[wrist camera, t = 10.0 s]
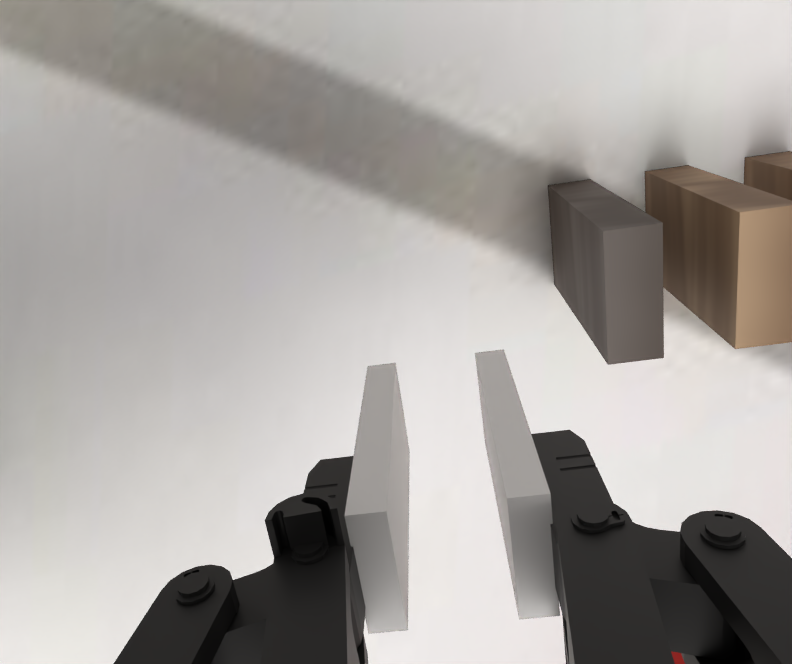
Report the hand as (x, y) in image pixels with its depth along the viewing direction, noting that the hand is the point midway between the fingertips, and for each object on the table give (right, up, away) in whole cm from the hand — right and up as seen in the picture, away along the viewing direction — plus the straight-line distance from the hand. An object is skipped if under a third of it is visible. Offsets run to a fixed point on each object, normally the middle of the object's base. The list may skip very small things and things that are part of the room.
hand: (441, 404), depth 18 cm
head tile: (+7, +7, +15) cm, 18 cm away
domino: (+12, +7, +15) cm, 20 cm away
